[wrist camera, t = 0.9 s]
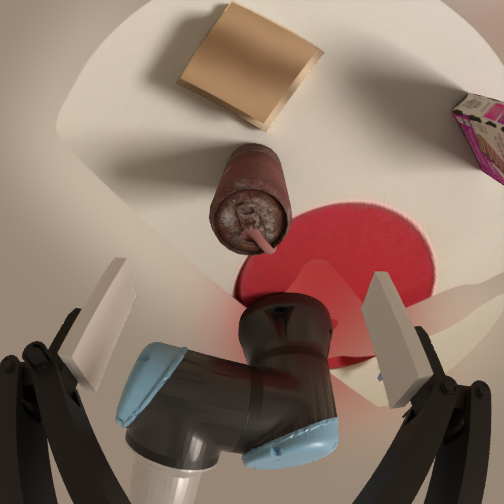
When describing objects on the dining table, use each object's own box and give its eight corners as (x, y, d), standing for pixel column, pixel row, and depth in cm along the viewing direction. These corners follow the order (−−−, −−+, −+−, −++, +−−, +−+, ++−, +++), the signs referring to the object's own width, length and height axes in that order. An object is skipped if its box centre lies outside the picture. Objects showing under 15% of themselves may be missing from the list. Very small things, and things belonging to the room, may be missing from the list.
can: (255, 203, 34) (251, 275, 23) (216, 167, 32) (190, 223, 20) (293, 171, 32) (312, 229, 20) (255, 131, 30) (251, 165, 18)
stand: (265, 130, 29) (266, 138, 25) (180, 82, 26) (166, 83, 22) (321, 53, 24) (332, 48, 20) (233, 4, 21) (228, -10, 17)
